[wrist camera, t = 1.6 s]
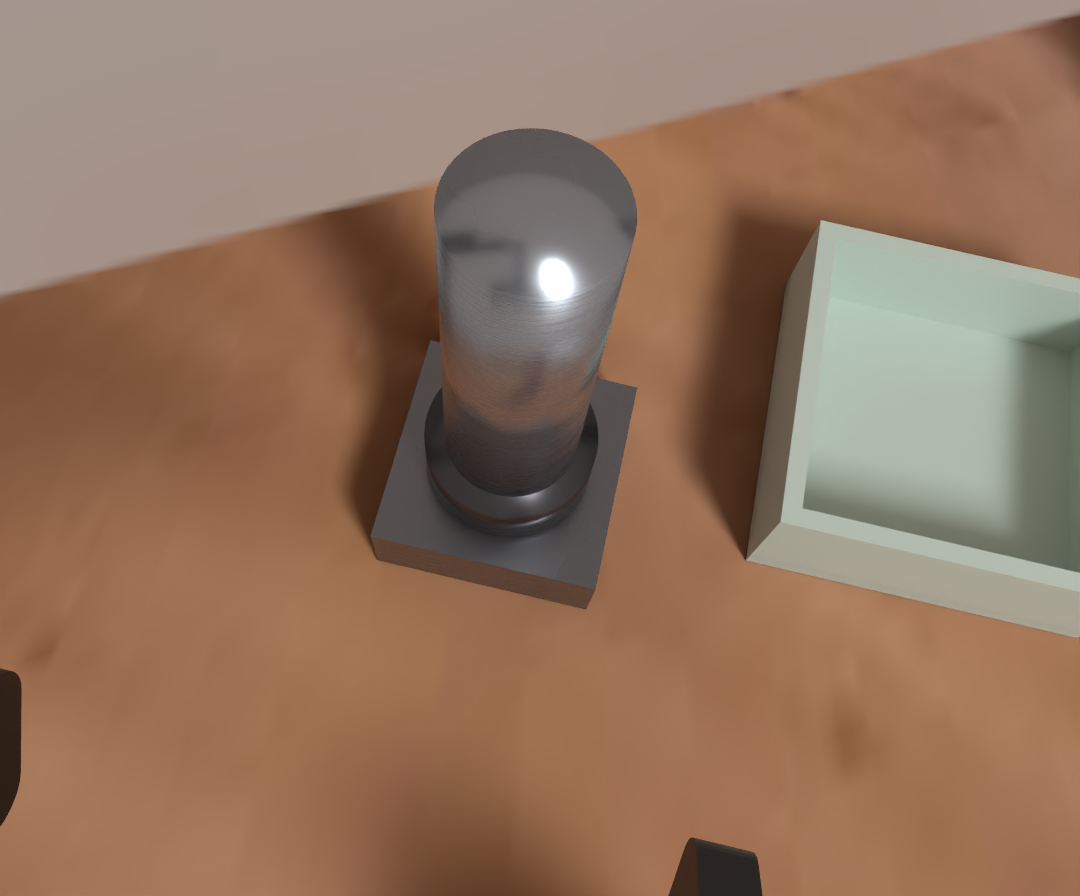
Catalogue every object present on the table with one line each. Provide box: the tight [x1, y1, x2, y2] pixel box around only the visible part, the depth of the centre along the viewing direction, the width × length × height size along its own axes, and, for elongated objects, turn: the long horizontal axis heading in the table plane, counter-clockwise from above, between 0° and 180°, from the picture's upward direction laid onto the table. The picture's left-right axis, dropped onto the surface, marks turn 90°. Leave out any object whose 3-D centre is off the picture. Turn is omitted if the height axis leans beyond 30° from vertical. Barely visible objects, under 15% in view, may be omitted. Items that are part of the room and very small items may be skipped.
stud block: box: [370, 340, 637, 609], centre depth 33 cm, size 7×7×2 cm
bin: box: [746, 220, 1080, 638], centre depth 34 cm, size 11×11×4 cm
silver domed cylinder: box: [424, 128, 637, 538], centre depth 26 cm, size 5×5×13 cm
